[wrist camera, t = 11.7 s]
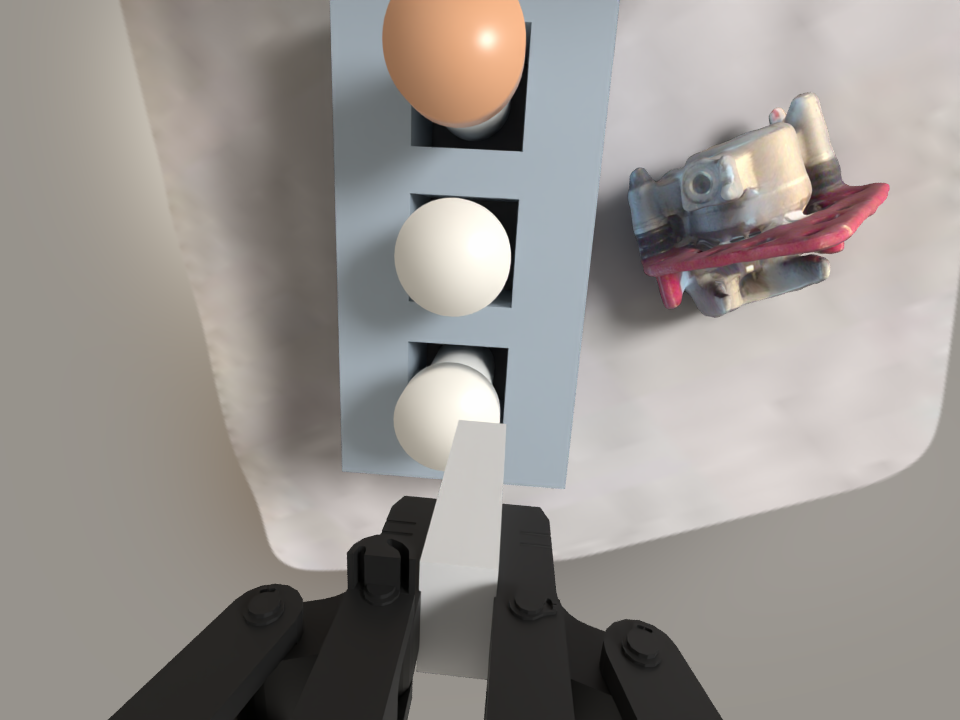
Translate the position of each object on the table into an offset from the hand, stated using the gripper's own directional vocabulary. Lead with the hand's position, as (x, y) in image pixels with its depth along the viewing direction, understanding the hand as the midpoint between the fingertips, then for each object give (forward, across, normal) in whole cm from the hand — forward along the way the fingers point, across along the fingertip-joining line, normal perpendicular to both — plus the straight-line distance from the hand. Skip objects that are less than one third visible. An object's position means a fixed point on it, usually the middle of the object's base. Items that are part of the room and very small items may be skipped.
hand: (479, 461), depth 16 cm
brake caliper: (+17, +12, +8) cm, 22 cm away
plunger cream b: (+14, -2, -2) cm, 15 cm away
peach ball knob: (+13, -2, +12) cm, 18 cm away
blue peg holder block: (+17, -2, +5) cm, 18 cm away
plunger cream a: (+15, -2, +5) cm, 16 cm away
